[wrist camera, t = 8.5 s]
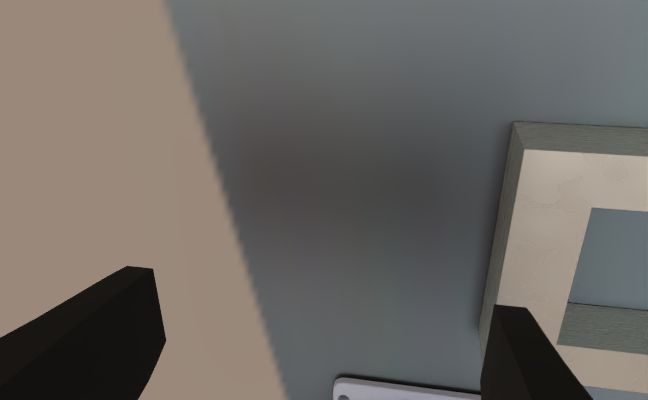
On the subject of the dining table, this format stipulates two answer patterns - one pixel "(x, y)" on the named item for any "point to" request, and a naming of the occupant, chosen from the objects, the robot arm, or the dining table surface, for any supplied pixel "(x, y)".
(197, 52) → the dining table surface
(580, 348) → the rail
